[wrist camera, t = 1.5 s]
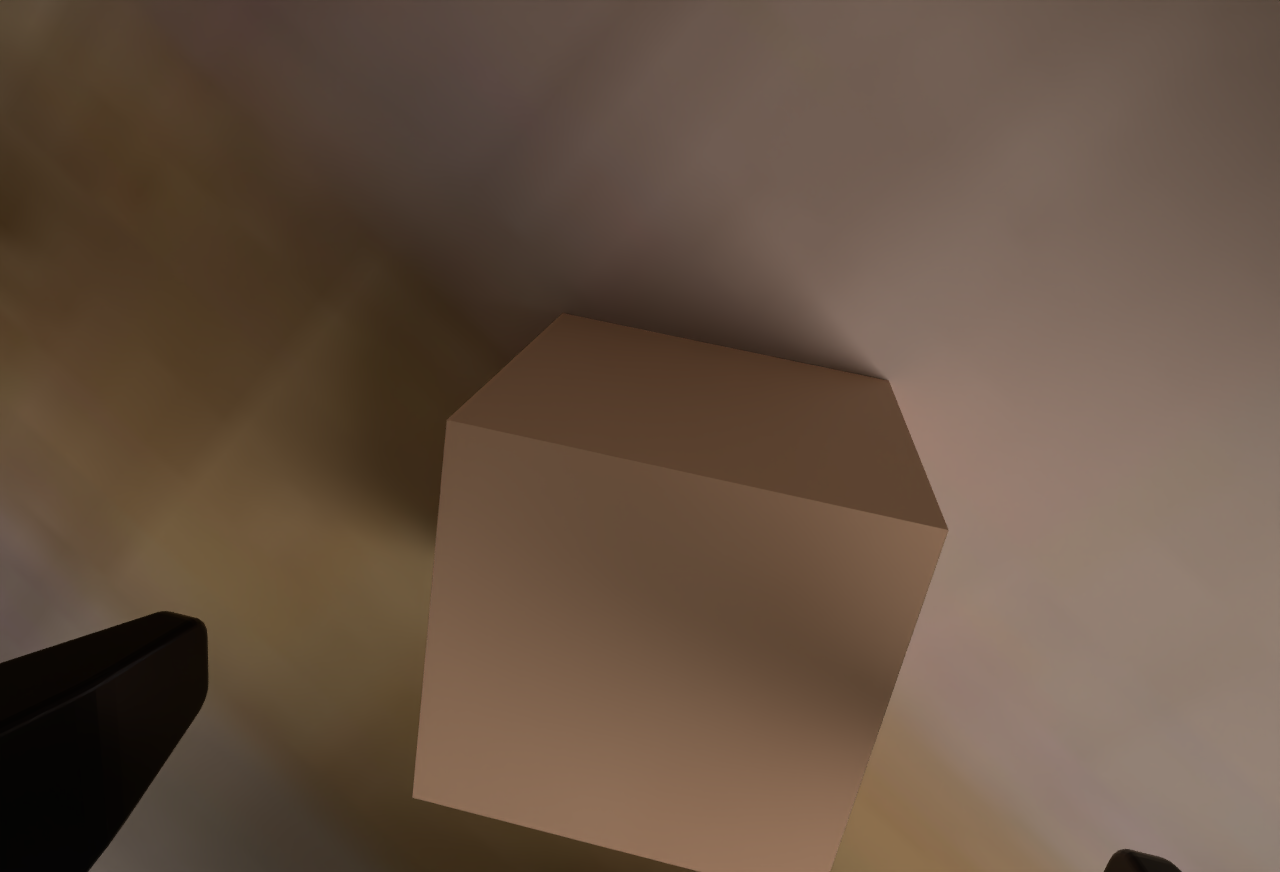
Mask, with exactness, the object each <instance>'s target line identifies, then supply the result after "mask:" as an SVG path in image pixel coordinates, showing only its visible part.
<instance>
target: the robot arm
mask: <svg viewBox="0 0 1280 872" xmlns="http://www.w3.org/2000/svg"><path fill="white" fill-rule="evenodd" d="M207 691H208V640H207V629H206V626H205V624H204V623H203V622H202V621H201V620H199V619H198V618H194V617H190V616H186V615H182V614H178V613H174V612H169V611H161V612H157V613H154V614H151V615H147V616H144V617H141V618H138V619H135V620H132V621H129V622H126V623H123V624H120V625H117V626H114V627H111V628H107V629H104V630H101V631H98V632H95V633H92V634H89V635H86V636H83V637H80V638H77V639H74V640H70V641H67V642H64V643H61V644H58V645H55V646H52V647H49V648H46V649H43V650H40V651H37V652H33V653H30V654H27V655H24V656H21V657H18V658H15V659H12V660H9V661H6V662H3V663H0V872H88V871H89V870H90V868H91V867H92V866H93V865H94V863H95V862H96V861H97V859H98V858H99V857H100V856H101V854H102V853H103V852H104V850H105V849H106V848H107V847H108V845H109V844H110V843H111V841H112V840H113V838H114V837H115V836H116V834H117V833H118V831H119V830H120V829H121V827H122V826H123V824H124V823H125V822H126V820H127V819H128V817H129V816H130V814H131V813H132V811H133V810H134V808H135V807H136V805H137V804H138V802H139V801H140V799H141V798H142V796H143V795H144V793H145V792H146V790H147V789H148V787H149V786H150V784H151V783H152V781H153V780H154V778H155V777H156V775H157V774H158V772H159V771H160V769H161V768H162V766H163V765H164V763H165V762H166V760H167V759H168V757H169V756H170V754H171V753H172V751H173V750H174V748H175V747H176V745H177V744H178V742H179V741H180V739H181V738H182V736H183V735H184V733H185V732H186V730H187V729H188V727H189V726H190V725H191V723H192V722H193V720H194V719H195V717H196V716H197V714H198V713H199V711H200V709H201V707H202V705H203V703H204V701H205V698H206V695H207ZM1104 872H1182V871H1180V870H1179V869H1178V868H1177V867H1176V866H1175V865H1174V864H1173V863H1171V862H1170V861H1168V860H1166V859H1164V858H1161V857H1158V856H1154V855H1150V854H1146V853H1142V852H1138V851H1134V850H1130V849H1122V850H1119V851H1117V852H1116V853H1114V854H1113V856H1112V857H1111V859H1110V860H1109V862H1108V864H1107V866H1106V868H1105V870H1104Z"/></svg>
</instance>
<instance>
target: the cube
mask: <svg viewBox="0 0 1280 872" xmlns="http://www.w3.org/2000/svg"><path fill="white" fill-rule="evenodd" d="M947 533H948V528H947V525H946V523H945V520H944V518H943V515H942V513H941V510H940V508H939V505H938V503H937V500H936V498H935V495H934V493H933V490H932V488H931V485H930V483H929V480H928V478H927V475H926V473H925V470H924V468H923V465H922V463H921V460H920V458H919V455H918V453H917V450H916V448H915V445H914V443H913V440H912V438H911V435H910V433H909V430H908V428H907V425H906V423H905V420H904V418H903V415H902V413H901V410H900V408H899V405H898V403H897V400H896V398H895V395H894V393H893V390H892V388H891V385H890V383H889V381H888V380H883V379H878V378H873V377H868V376H864V375H859V374H854V373H849V372H844V371H840V370H835V369H830V368H825V367H820V366H815V365H811V364H806V363H801V362H796V361H791V360H787V359H782V358H777V357H772V356H767V355H762V354H758V353H753V352H748V351H743V350H738V349H734V348H729V347H724V346H719V345H714V344H710V343H705V342H700V341H695V340H690V339H685V338H681V337H676V336H671V335H666V334H661V333H657V332H652V331H647V330H642V329H637V328H632V327H628V326H623V325H618V324H613V323H608V322H604V321H599V320H594V319H589V318H584V317H579V316H575V315H570V314H565V313H562V314H561V315H560V316H559V317H558V318H557V319H556V320H555V321H554V322H552V323H551V324H550V325H549V326H548V327H547V328H546V329H545V330H544V331H543V332H542V333H541V334H539V335H538V336H537V337H536V338H535V339H534V340H533V341H532V342H531V343H530V344H529V345H527V346H526V347H525V348H524V349H523V350H522V351H521V352H520V353H519V354H518V355H517V356H516V357H514V358H513V359H512V360H511V361H510V362H509V363H508V364H507V365H506V366H505V367H504V368H502V369H501V370H500V371H499V372H498V373H497V374H496V375H495V376H494V377H493V378H492V379H491V380H489V381H488V382H487V383H486V384H485V385H484V386H483V387H482V388H481V389H480V390H479V391H477V392H476V393H475V394H474V395H473V396H472V397H471V398H470V399H469V400H468V401H467V402H466V403H464V404H463V405H462V406H461V407H460V408H459V409H458V410H457V411H456V412H455V413H454V414H452V415H451V416H450V417H449V418H448V419H447V423H446V434H445V445H444V456H443V467H442V478H441V489H440V500H439V511H438V522H437V533H436V544H435V555H434V566H433V577H432V588H431V599H430V610H429V621H428V632H427V643H426V654H425V665H424V676H423V687H422V698H421V709H420V720H419V731H418V742H417V753H416V764H415V775H414V786H413V797H412V798H416V799H420V800H424V801H427V802H431V803H435V804H439V805H443V806H447V807H451V808H455V809H458V810H462V811H466V812H470V813H474V814H478V815H482V816H486V817H490V818H493V819H497V820H501V821H505V822H509V823H513V824H517V825H521V826H524V827H528V828H532V829H536V830H540V831H544V832H548V833H552V834H555V835H559V836H563V837H567V838H571V839H575V840H579V841H583V842H586V843H590V844H594V845H598V846H602V847H606V848H610V849H614V850H617V851H621V852H625V853H629V854H633V855H637V856H641V857H645V858H648V859H652V860H656V861H660V862H664V863H668V864H672V865H676V866H679V867H683V868H687V869H691V870H695V871H699V872H830V871H831V868H832V865H833V862H834V859H835V856H836V854H837V851H838V848H839V845H840V842H841V839H842V836H843V833H844V830H845V828H846V825H847V822H848V819H849V816H850V813H851V810H852V807H853V804H854V802H855V799H856V796H857V793H858V790H859V787H860V784H861V781H862V778H863V776H864V773H865V770H866V767H867V764H868V761H869V758H870V755H871V752H872V750H873V747H874V744H875V741H876V738H877V735H878V732H879V729H880V726H881V724H882V721H883V718H884V715H885V712H886V709H887V706H888V703H889V700H890V698H891V695H892V692H893V689H894V686H895V683H896V680H897V677H898V674H899V672H900V669H901V666H902V663H903V660H904V657H905V654H906V651H907V648H908V646H909V643H910V640H911V637H912V634H913V631H914V628H915V625H916V622H917V620H918V617H919V614H920V611H921V608H922V605H923V602H924V599H925V596H926V594H927V591H928V588H929V585H930V582H931V579H932V576H933V573H934V570H935V568H936V565H937V562H938V559H939V556H940V553H941V550H942V547H943V544H944V542H945V539H946V536H947Z"/></svg>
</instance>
